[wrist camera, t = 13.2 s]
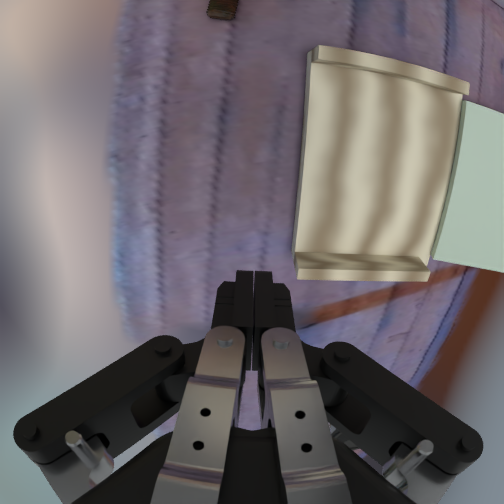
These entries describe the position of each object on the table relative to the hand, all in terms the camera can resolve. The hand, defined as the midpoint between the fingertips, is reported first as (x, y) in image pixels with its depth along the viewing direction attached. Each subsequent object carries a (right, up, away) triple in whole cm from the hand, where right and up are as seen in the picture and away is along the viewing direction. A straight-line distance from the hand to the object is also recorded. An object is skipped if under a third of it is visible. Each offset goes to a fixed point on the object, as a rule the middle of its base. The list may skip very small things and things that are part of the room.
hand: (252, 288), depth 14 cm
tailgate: (+26, +11, +21) cm, 35 cm away
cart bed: (+16, +13, +24) cm, 31 cm away
